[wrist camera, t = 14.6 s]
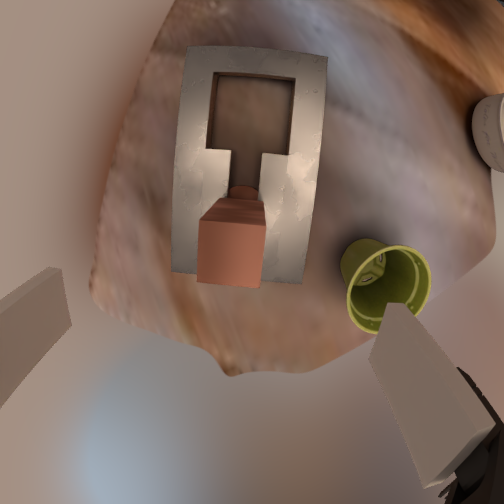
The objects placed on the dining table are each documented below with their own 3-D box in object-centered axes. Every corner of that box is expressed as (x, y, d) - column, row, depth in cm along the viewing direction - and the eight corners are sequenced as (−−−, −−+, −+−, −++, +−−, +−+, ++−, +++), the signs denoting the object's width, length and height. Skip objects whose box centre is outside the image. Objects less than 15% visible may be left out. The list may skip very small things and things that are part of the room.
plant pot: (388, 213, 32) (425, 231, 23) (402, 281, 34) (434, 313, 26) (317, 240, 33) (335, 267, 25) (338, 307, 36) (357, 347, 27)
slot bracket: (321, 66, 27) (327, 57, 23) (297, 272, 34) (301, 284, 31) (194, 56, 26) (187, 46, 23) (179, 260, 34) (171, 271, 31)
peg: (270, 188, 31) (281, 214, 17) (265, 237, 33) (270, 300, 19) (219, 183, 31) (186, 205, 17) (215, 233, 33) (184, 291, 19)
